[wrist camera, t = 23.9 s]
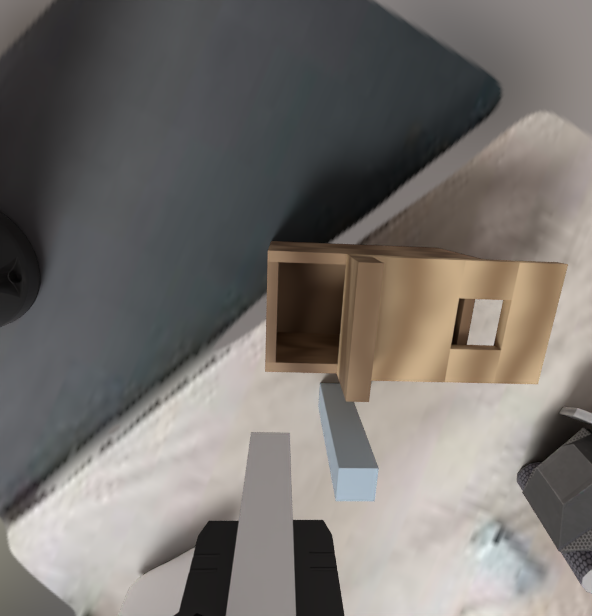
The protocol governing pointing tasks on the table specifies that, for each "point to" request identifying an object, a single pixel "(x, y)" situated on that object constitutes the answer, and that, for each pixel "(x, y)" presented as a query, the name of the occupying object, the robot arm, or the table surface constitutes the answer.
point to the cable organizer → (159, 589)
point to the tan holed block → (442, 320)
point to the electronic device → (566, 497)
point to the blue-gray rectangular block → (346, 447)
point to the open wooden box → (323, 302)
